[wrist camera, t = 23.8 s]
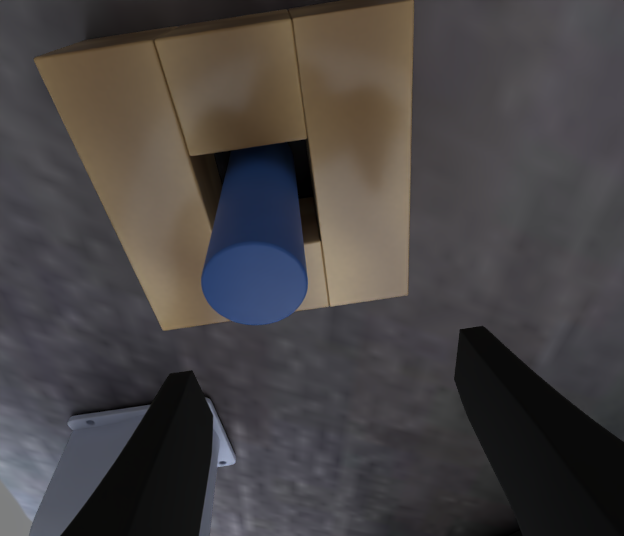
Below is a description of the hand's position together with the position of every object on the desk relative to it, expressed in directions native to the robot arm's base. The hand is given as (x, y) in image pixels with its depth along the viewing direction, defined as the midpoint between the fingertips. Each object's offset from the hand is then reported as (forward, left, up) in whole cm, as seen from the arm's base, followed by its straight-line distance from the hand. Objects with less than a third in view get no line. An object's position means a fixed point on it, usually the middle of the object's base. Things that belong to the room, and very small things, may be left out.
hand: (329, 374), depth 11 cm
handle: (-2, +2, -10) cm, 11 cm away
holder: (-2, +2, -10) cm, 11 cm away
